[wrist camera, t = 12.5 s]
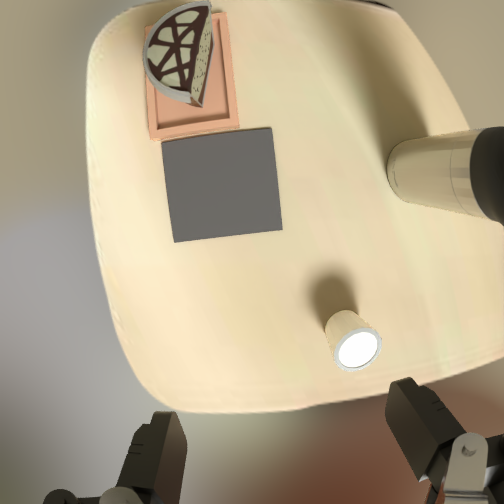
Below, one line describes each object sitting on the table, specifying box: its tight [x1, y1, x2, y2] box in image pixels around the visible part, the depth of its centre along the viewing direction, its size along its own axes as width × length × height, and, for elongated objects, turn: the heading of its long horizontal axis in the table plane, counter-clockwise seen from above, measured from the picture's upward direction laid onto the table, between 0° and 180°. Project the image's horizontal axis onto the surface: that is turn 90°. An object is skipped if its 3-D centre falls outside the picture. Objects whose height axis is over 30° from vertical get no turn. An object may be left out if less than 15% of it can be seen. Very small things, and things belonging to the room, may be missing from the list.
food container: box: [143, 0, 215, 108], centre depth 27 cm, size 12×6×10 cm, turn 172°
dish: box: [145, 12, 239, 141], centre depth 32 cm, size 11×17×2 cm, turn 6°
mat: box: [162, 129, 283, 243], centre depth 37 cm, size 14×13×1 cm
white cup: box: [325, 310, 382, 371], centre depth 39 cm, size 7×7×7 cm
